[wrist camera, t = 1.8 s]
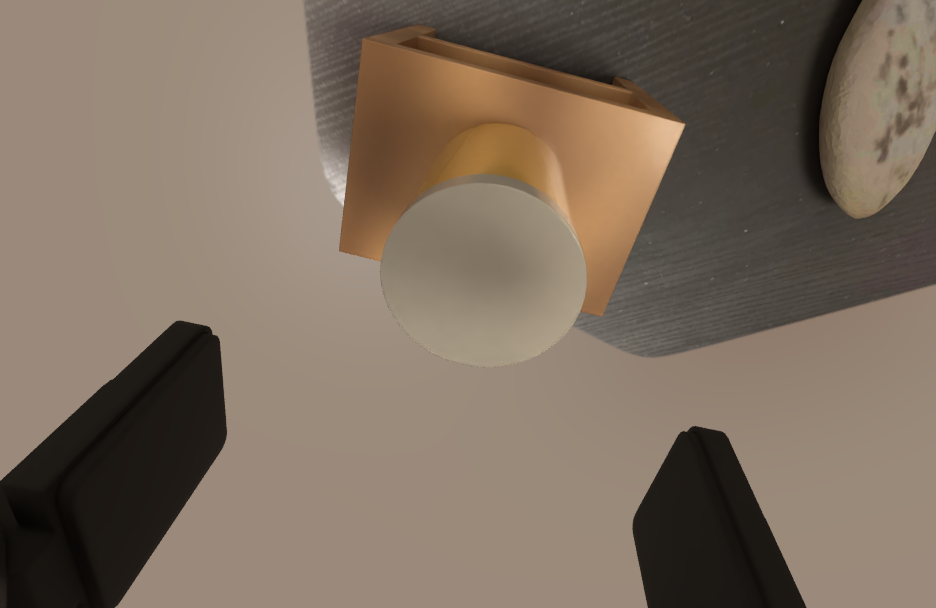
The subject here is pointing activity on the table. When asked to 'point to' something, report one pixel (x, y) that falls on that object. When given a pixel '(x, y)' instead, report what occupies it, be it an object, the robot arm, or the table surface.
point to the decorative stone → (879, 103)
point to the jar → (487, 251)
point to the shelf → (512, 102)
